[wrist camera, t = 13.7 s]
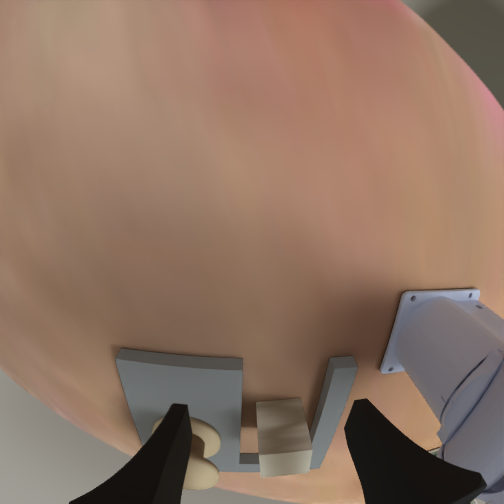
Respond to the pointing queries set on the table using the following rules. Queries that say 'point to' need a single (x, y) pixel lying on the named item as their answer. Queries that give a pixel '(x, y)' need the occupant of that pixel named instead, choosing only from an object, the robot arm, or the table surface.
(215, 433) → the spool
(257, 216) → the table surface
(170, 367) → the notched board
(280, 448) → the block
